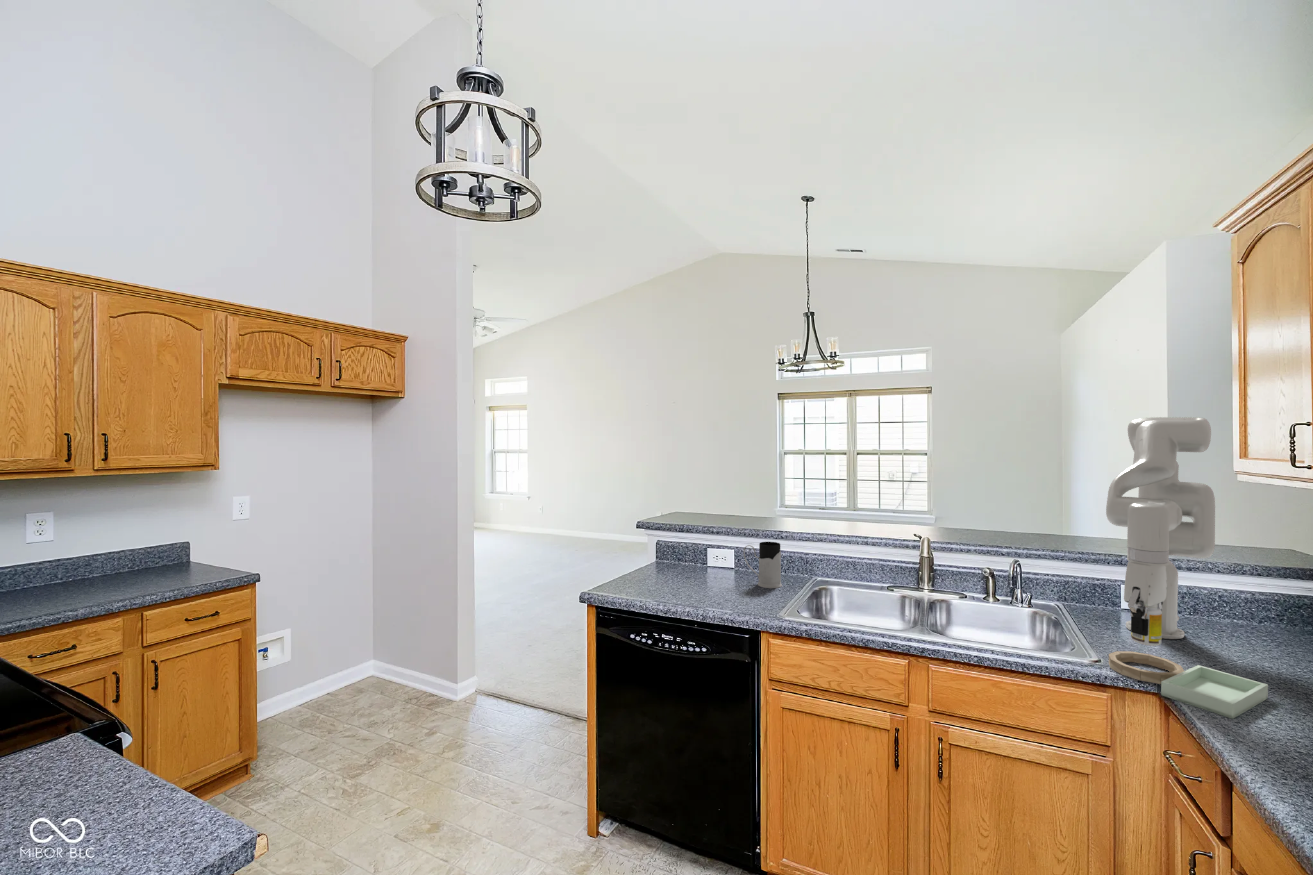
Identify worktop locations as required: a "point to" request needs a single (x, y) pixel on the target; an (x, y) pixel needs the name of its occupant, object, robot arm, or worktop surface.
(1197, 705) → the tray
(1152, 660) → the collar
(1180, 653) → the worktop surface
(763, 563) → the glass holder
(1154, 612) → the supplement bottle
